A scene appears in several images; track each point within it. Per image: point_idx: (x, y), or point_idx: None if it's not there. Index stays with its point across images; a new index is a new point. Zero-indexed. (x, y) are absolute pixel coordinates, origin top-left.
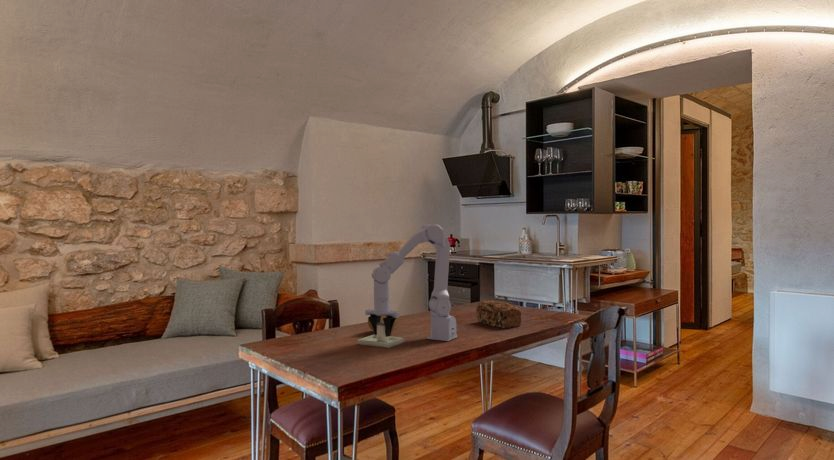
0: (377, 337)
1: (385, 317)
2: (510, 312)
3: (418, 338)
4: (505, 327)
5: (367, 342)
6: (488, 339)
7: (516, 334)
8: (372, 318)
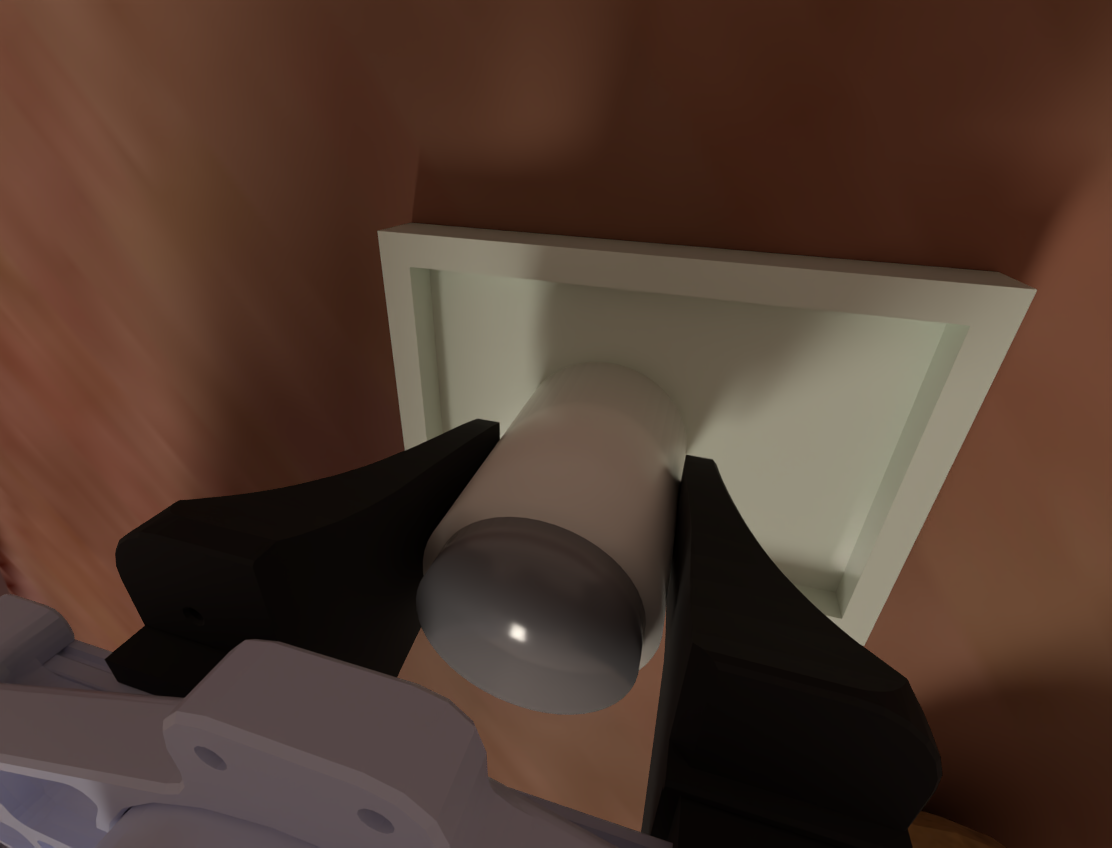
0: (640, 404)
1: None
2: None
3: (420, 643)
4: None
5: (768, 259)
6: None
7: None
8: (690, 642)
